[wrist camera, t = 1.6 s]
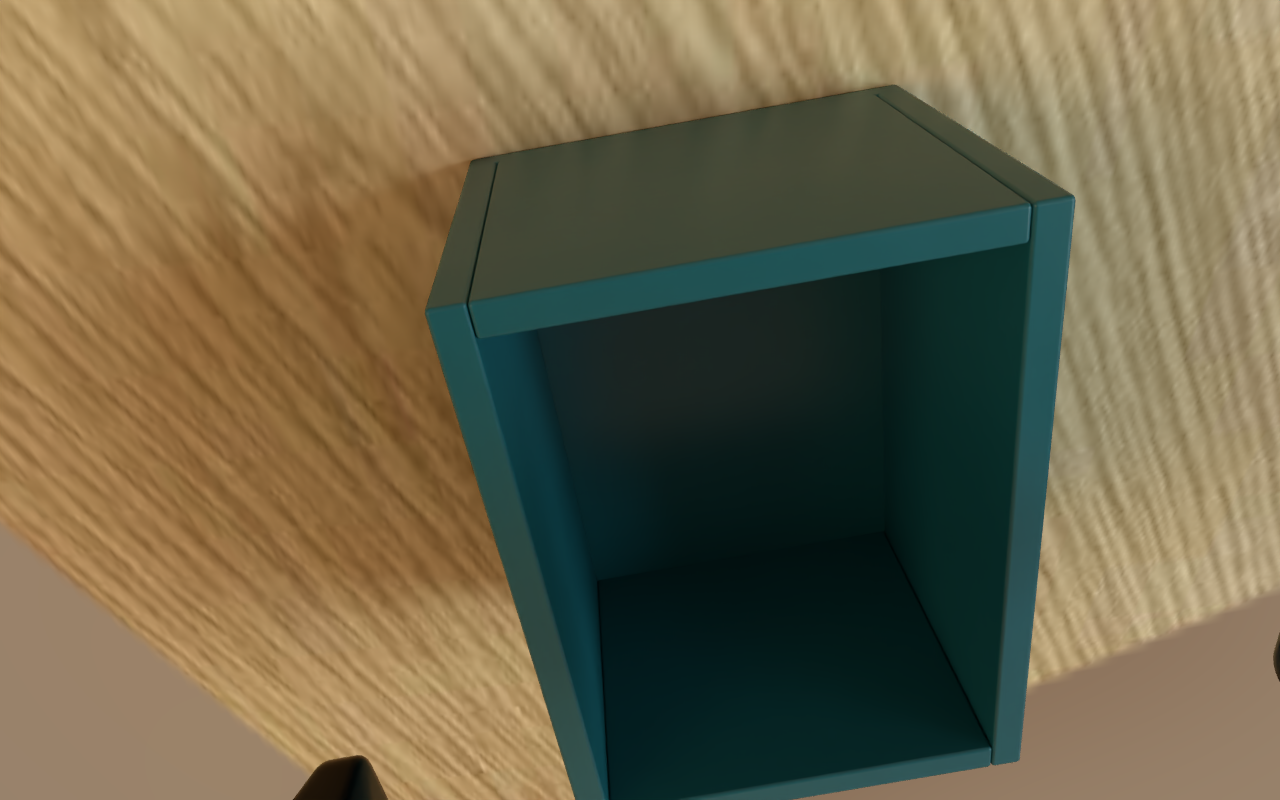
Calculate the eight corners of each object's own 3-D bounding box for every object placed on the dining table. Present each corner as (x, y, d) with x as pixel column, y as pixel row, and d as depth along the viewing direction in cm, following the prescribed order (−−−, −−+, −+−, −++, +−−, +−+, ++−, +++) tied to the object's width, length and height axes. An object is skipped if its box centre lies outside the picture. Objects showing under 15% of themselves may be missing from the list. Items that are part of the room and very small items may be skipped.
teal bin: (896, 83, 12) (1078, 195, 8) (900, 530, 16) (1020, 763, 12) (470, 159, 12) (422, 310, 8) (578, 585, 16) (585, 836, 12)
